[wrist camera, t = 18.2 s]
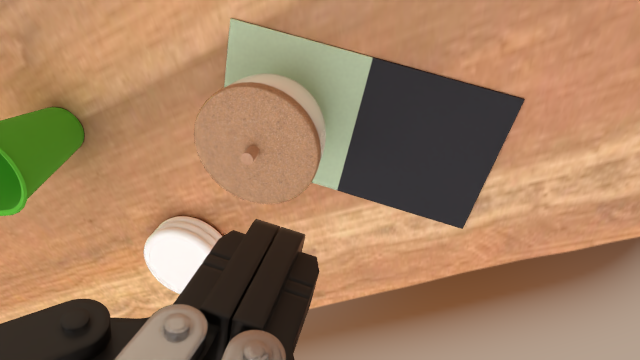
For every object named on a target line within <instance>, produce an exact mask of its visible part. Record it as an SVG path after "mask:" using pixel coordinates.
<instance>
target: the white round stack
mask: <svg viewBox="0 0 640 360" xmlns="http://www.w3.org/2000/svg"><path fill="white" fill-rule="evenodd" d="M221 237H222V235H221V234H220V233H219V232H218V231H217V230H215V229H214V228H213V227H212V226H210V225H209V224H207V223H205V222H203V221H201V220H199V219H196V218H192V217H187V216H177V217H173V218H170V219H168V220H166V221H164V222H163V223H161V224H160V225H159V227H158V228H157V229H156V230H155V231H154V232H153V234H151V235H150V236H149V238H148V239H147V241H146V243H145V246H144V258H145V261H146V264H147V266H148V268H149V270H150V271H151V273H152V274H153V275H154V277H155V278H156V279H157V280H158V281H159V282H160V283H162V284H163V285H164V286H165V287H167V288H168V289H170V290H172V291H174V292H176V293H179V294H181V293H182V291H183V290H184V288H185V287H186V285H187V284H188V283H189V281H190V280H191V278H192V277H193V275H194V274H195V273H196V271H197V270H198V268H199V267H200V265H201V264H203V261H204V260H205V258H206V257H207V255H208V254H210V251H211V249H212V248H213V247H214V245H215V244H216V242H217V241H218V239H220V238H221Z"/></svg>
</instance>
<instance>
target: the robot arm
mask: <svg viewBox="0 0 640 360" xmlns="http://www.w3.org/2000/svg"><path fill="white" fill-rule="evenodd" d="M304 240H305V234H302V233H299V232H296V231H293V230H290V229H286V228H283V227H281V228H280V226H277V225H274V224H270V223H267V222H264V221H261V220H258V219H256V220H255V221H254V222H253V223H252V225H251V227H250V228H249V230H248V231H247V233H246V234H243V233H240V232H237V231H234V230H233V231H231V232H229V233H228V234H226V235H225V236H223V237H221V238H220V239H218V241H217V242H216V244H215V245H214V247H213V248H212V249H211V251H210V254H208V255H207V257H206V258H205V260H204V261H203V264H201V265H200V267H199V268H198V270H197V271H196V273H195V274H194V275H193V277H192V278H191V280H190V281H189V283H188V284H187V285H186V287H185V288H184V290H183V291H182V293H181V294H180V296H179V297H178V298H177V300H176V301H175V302H174V304H173V305H169V306H166V307H163V308H161V309H159V310H158V311H156V312H155V313H154V314H153V315H152V316H151V317H149V318H142V319H130V318H110V314H109V311H108V309H107V308H106V307H105V306H104V305H103V304H101V303H100V302H98V301H95V300H91V299H76V300H71V301H67V302H64V303H61V304H58V305H55V306H52V307H49V308H46V309H43V310H41V311H38V312H35V313H32V314H29V315H26V316H23V317H20V318H17V319H14V320H11V321H8V322H5V323H2V324H0V360H294V357H293V353H294V350H295V347H296V344H297V341H298V338H299V335H300V333H301V330H302V327H303V324H304V321H305V318H306V315H307V313H308V310H309V307H310V303H311V299H312V296H313V292H314V289H315V285H316V281H317V278H318V274H319V268H318V262H317V257H315V256H312V255H309V254H306V253H302V248H303V244H304Z"/></svg>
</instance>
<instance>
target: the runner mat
mask: <svg viewBox="0 0 640 360" xmlns="http://www.w3.org/2000/svg"><path fill="white" fill-rule="evenodd" d="M263 73H270V74H277V75H281V76H285V77H288V78H290V79H292V80H294V81H296V82H298V83H299V84H301V85H302V86H303V87H305V88H306V89H307V90H308V91H309V92H310V93H311V94H312V96H313V97H314V98H315V100H316V101H317V103H318V104H319V107H320V109H321V111H322V113H323V117H324V120H325V127H326V141H325V147H324V151H323V155H322V158H321V161H320V163H319V167H318V170H317V172H316V175H315V177H314V179H313V181H312V183H315V184H318V185H322V186H325V187H328V188H331V189H335V190H338V191H341V192H344V193H348V194H351V195H354V196H357V197H361V198H364V199H367V200H370V201H374V202H377V203H380V204H383V205H387V206H390V207H393V208H396V209H400V210H403V211H406V212H410V213H413V214H416V215H419V216H423V217H426V218H429V219H432V220H436V221H439V222H442V223H445V224H449V225H452V226H455V227H458V228H462V229H463V227H464V225H465V222H466V220H467V218H468V216H469V214H470V212H471V210H472V208H473V206H474V204H475V202H476V200H477V198H478V195H479V193H480V191H481V189H482V187H483V185H484V183H485V181H486V179H487V177H488V175H489V173H490V171H491V168H492V166H493V164H494V162H495V160H496V158H497V156H498V154H499V152H500V150H501V148H502V146H503V143H504V141H505V139H506V137H507V135H508V133H509V131H510V129H511V127H512V125H513V123H514V121H515V119H516V116H517V114H518V112H519V110H520V108H521V106H522V104H523V102H524V99H522V98H519V97H515V96H512V95H508V94H504V93H501V92H497V91H493V90H490V89H486V88H483V87H479V86H475V85H472V84H468V83H464V82H461V81H457V80H454V79H450V78H446V77H443V76H439V75H436V74H432V73H428V72H425V71H421V70H417V69H414V68H410V67H407V66H403V65H399V64H396V63H392V62H388V61H385V60H381V59H378V58H374V57H370V56H367V55H363V54H359V53H356V52H352V51H349V50H345V49H341V48H338V47H334V46H330V45H327V44H323V43H320V42H316V41H312V40H309V39H305V38H302V37H298V36H294V35H291V34H287V33H283V32H280V31H276V30H273V29H269V28H265V27H262V26H258V25H254V24H251V23H247V22H244V21H240V20H236V19H233V18H231V19H230V29H229V40H228V51H227V62H226V73H225V84H224V88H225V87H227V86H228V85H230V84H231V83H233V82H234V81H237V80H239V79H242V78H244V77H247V76H251V75H256V74H263Z"/></svg>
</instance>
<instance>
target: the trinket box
mask: <svg viewBox="0 0 640 360" xmlns="http://www.w3.org/2000/svg"><path fill="white" fill-rule="evenodd" d="M194 138H195V145H196V149H197V153H198V156H199V158H200V161H201V163H202V164H203V166H204V168H205V169H206V171H207V172H208V173H209V175H210V176H211V177H212V178H213V179H214V180H215V181H216V182H217V183H218V184H219V185H220V186H221V187H222V188H223V189H225V190H226V191H228V192H229V193H231V194H233V195H234V196H236V197H238V198H241V199H243V200H246V201H249V202H253V203H258V204H278V203H282V202H286V201H289V200H291V199H293V198H295V197H297V196H298V195H300V194H301V193H302V192H304V191H305V190H306V189H307V188H308V186H309V185H310V184H311V182H312V181H313V179H314V177H315V175H316V172H317V170H318V167H319V163H320V161H321V158H322V155H323V151H324V147H325V141H326V127H325V120H324V117H323V113H322V111H321V109H320V107H319V104H318V103H317V101H316V100H315V98H314V97H313V96H312V94H311V93H310V92H309V91H308V90H307V89H306V88H305V87H303V86H302V85H301V84H299V83H298V82H296V81H294V80H292V79H290V78H288V77H285V76H281V75H277V74H270V73H263V74H256V75H251V76H247V77H244V78H242V79H239V80H237V81H234V82H233V83H231V84H230V85H228V86H227V87H225V88H223V89H221V90H219V91H218V92H216V93H215V94H213V95H212V96H211V97H210V98H209V99H208V100H207V101H206V102H205V103H204V105H203V106H202V107H201V109H200V111H199V113H198V115H197V118H196V122H195V128H194Z"/></svg>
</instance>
